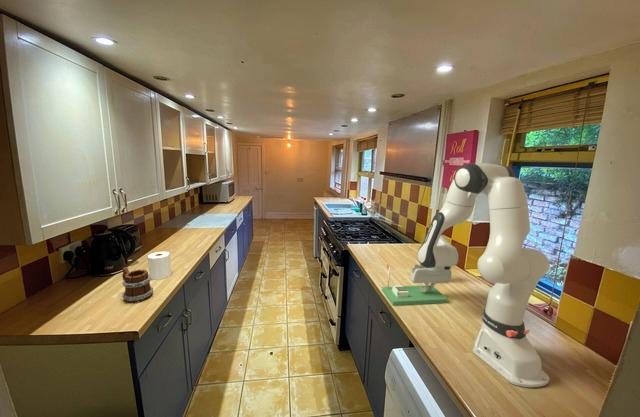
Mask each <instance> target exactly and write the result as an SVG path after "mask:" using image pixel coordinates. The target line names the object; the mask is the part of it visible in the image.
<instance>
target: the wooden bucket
mask: <svg viewBox="0 0 640 417" xmlns="http://www.w3.org/2000/svg"><path fill="white" fill-rule="evenodd" d="M121 270H122V286H123V287H124V292H123V294H122V297H123V300H124V301H125V302H126V303H133V304H134V303H139V302H140V303H141V302H143V301H145V300H147V299H150V297H151V296H152V295H153V293H154V287H152V286H151V283H150V282H151V280H152V279H151V278H150V276H149V270H147V269H134V270H131V271H130V270H129V269H128V268H127V267H122V268H121Z"/></svg>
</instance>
